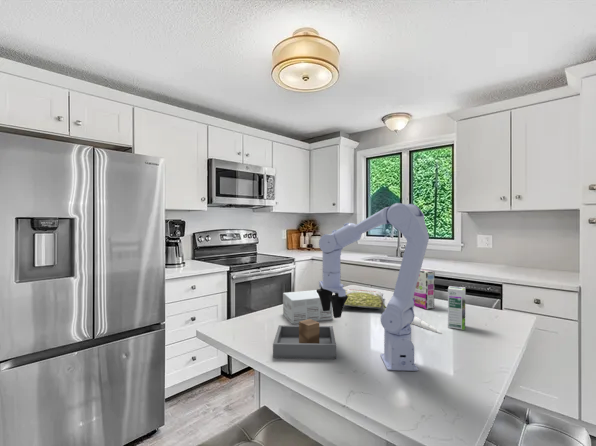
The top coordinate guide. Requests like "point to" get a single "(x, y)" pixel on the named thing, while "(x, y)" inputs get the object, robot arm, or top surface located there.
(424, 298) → the candy bar box
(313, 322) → the walnut block
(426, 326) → the unicorn horn
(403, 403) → the top surface
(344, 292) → the robot arm
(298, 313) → the supplement box
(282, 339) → the charcoal bin
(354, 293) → the frozen beans
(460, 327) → the syrup box
